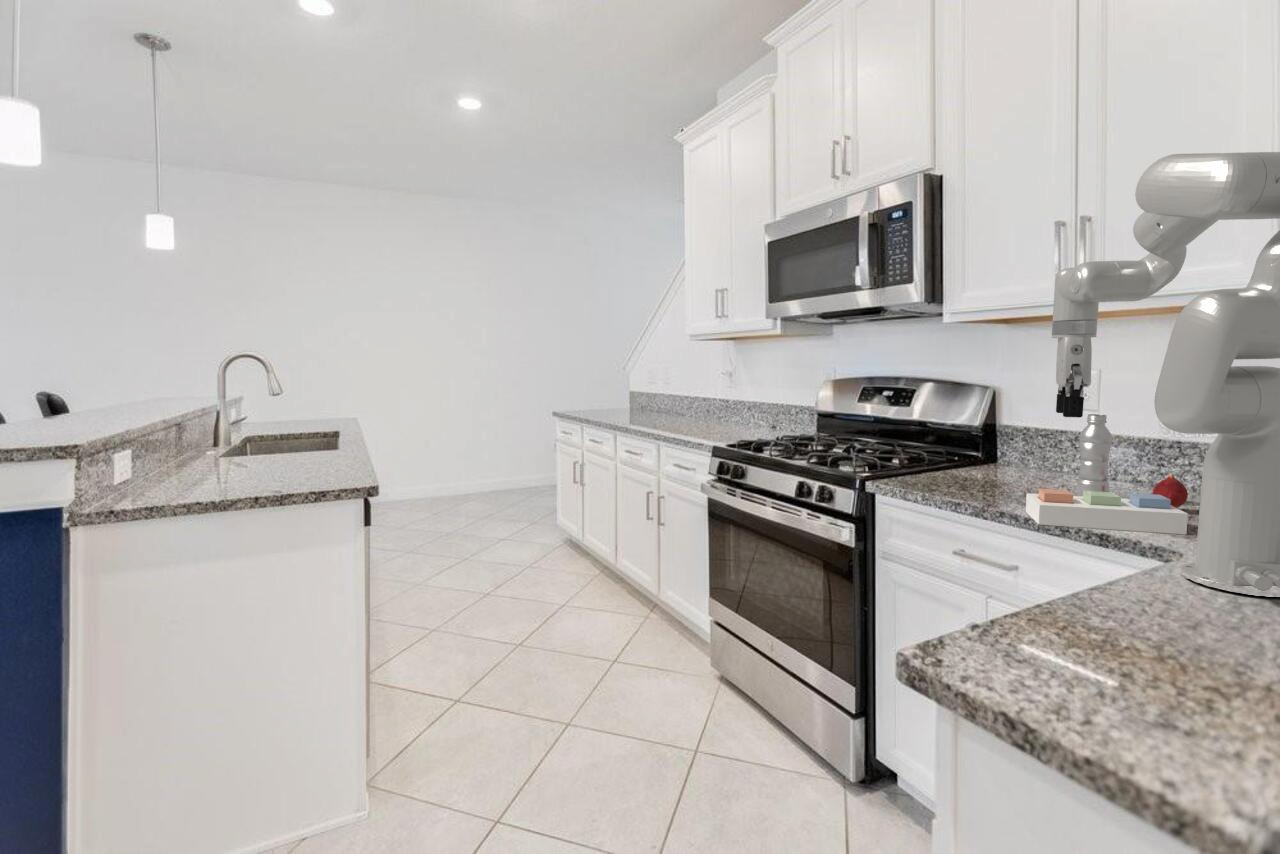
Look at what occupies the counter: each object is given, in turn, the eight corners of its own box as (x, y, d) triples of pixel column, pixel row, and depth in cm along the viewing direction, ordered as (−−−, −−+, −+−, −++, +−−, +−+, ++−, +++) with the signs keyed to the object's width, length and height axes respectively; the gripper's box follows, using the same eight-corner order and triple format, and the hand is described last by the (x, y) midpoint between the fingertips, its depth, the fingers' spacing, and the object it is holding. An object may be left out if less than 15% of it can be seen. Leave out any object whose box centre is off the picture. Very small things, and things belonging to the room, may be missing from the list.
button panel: (1186, 534, 120) (1187, 513, 120) (1038, 524, 128) (1039, 504, 128) (1159, 519, 131) (1161, 500, 131) (1025, 511, 140) (1026, 493, 139)
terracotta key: (1072, 510, 129) (1073, 494, 129) (1043, 508, 131) (1044, 493, 130) (1065, 505, 134) (1066, 490, 133) (1037, 503, 135) (1038, 488, 135)
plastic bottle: (1081, 502, 148) (1086, 415, 146) (1071, 496, 155) (1075, 413, 153) (1113, 503, 146) (1119, 416, 144) (1102, 497, 153) (1107, 413, 151)
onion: (1192, 514, 136) (1195, 477, 135) (1161, 513, 137) (1164, 476, 136) (1175, 508, 141) (1178, 472, 140) (1146, 507, 142) (1148, 471, 142)
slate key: (1169, 516, 124) (1170, 499, 123) (1138, 514, 125) (1139, 498, 125) (1158, 510, 128) (1160, 494, 128) (1128, 508, 130) (1129, 493, 130)
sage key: (1119, 513, 126) (1121, 497, 126) (1090, 511, 128) (1091, 495, 128) (1111, 507, 131) (1112, 492, 131) (1082, 506, 133) (1083, 490, 132)
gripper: (1105, 328, 120) (1099, 419, 122) (1088, 331, 135) (1083, 412, 137) (1058, 329, 123) (1052, 418, 125) (1046, 332, 139) (1042, 411, 140)
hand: (1068, 414), depth 131 cm, fingers open, 9 cm apart
